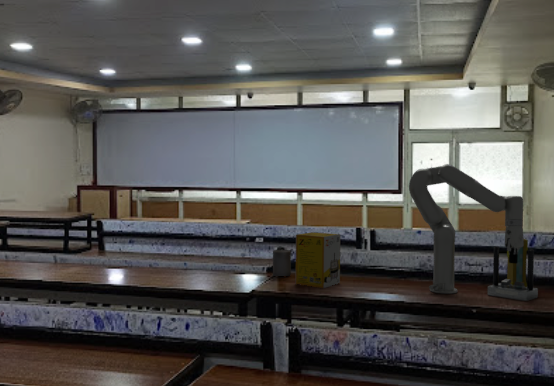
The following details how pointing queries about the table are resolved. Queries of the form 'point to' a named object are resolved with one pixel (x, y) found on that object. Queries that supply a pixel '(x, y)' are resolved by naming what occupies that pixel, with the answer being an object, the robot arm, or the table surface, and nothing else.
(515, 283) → the paddle
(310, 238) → the packaging box
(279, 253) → the gray lidded canister
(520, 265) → the book
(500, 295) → the gray double-post stand
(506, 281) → the paddle
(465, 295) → the table surface
